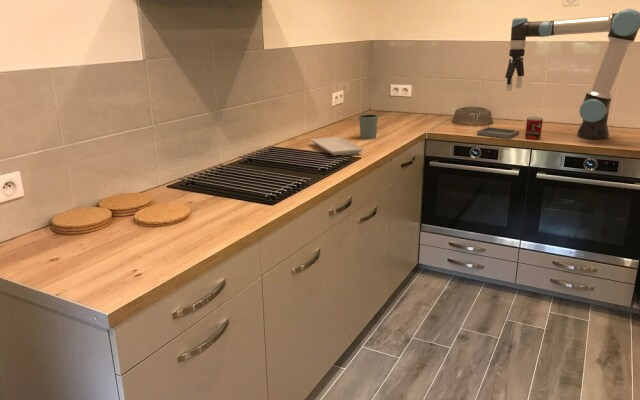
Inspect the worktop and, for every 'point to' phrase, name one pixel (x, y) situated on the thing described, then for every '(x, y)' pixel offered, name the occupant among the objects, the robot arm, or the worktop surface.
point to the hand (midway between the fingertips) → (513, 89)
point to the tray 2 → (498, 133)
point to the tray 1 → (337, 146)
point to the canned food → (533, 128)
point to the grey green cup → (368, 126)
